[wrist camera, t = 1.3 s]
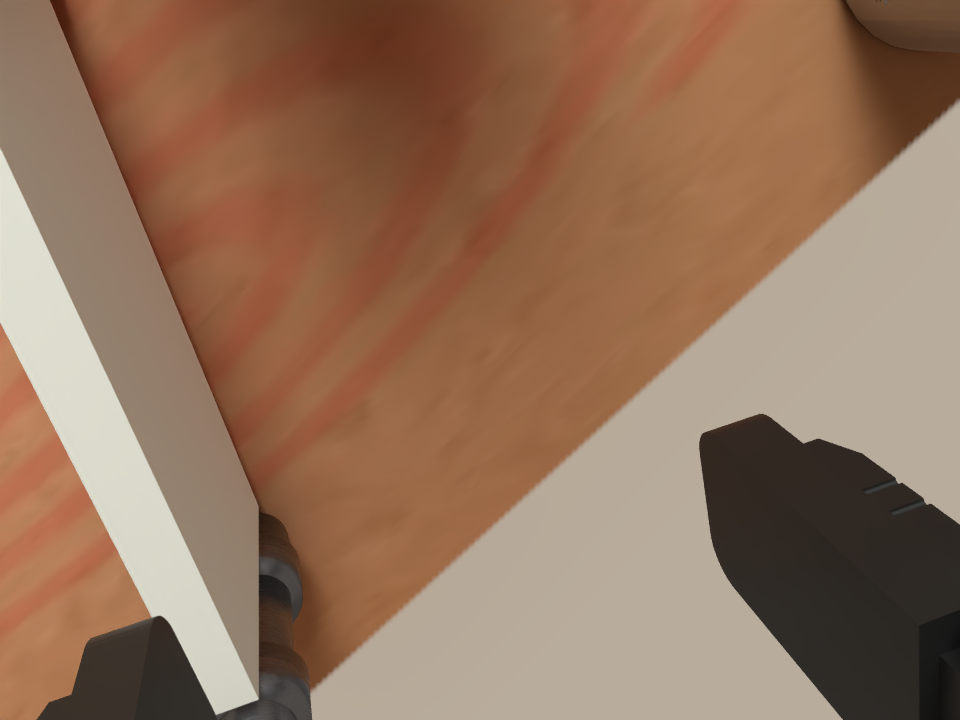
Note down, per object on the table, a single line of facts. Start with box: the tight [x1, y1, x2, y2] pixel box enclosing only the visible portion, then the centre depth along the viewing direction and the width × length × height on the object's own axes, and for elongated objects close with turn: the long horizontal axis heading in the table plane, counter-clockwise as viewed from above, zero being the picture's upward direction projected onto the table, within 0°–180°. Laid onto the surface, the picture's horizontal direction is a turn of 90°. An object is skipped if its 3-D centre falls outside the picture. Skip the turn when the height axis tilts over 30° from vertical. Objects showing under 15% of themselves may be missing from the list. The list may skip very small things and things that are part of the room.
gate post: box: [216, 514, 312, 720], centre depth 27 cm, size 3×3×14 cm
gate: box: [0, 0, 259, 715], centre depth 23 cm, size 20×2×11 cm, turn 14°
